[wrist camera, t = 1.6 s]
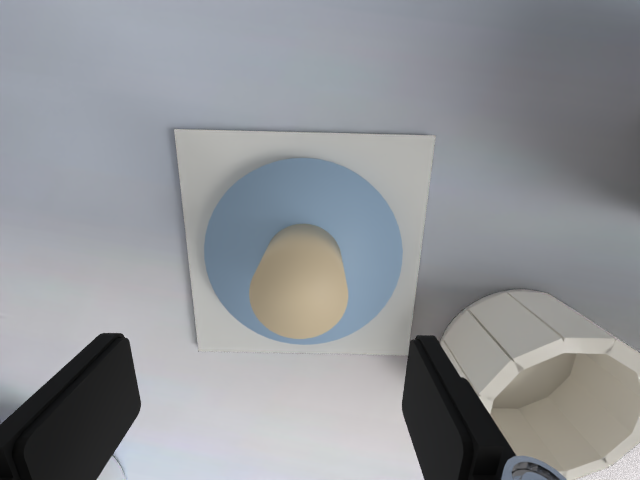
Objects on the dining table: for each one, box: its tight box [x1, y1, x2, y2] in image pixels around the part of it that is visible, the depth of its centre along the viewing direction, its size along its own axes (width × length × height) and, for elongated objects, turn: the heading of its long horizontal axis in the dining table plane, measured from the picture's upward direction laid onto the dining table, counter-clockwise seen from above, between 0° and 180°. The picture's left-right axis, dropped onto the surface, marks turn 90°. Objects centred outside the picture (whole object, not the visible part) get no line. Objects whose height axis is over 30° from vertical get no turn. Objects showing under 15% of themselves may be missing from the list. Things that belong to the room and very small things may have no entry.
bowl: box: [440, 289, 640, 480], centre depth 22 cm, size 11×11×6 cm
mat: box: [174, 129, 436, 356], centre depth 22 cm, size 16×16×1 cm
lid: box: [204, 158, 403, 345], centre depth 19 cm, size 13×13×6 cm
